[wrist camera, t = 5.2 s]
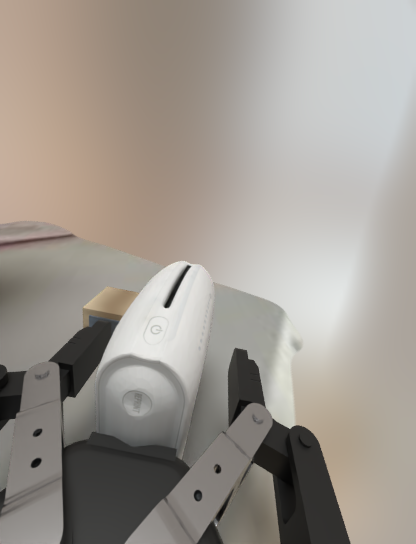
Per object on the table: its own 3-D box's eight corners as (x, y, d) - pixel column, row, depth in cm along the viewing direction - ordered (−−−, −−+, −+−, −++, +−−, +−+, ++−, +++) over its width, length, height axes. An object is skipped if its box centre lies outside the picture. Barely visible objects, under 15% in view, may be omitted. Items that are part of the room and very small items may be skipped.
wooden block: (83, 347, 21) (81, 308, 20) (107, 320, 26) (107, 286, 24) (128, 356, 21) (130, 318, 20) (144, 327, 26) (147, 294, 24)
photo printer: (166, 544, 11) (213, 359, 6) (84, 524, 11) (70, 327, 6) (196, 377, 20) (224, 254, 16) (152, 367, 21) (167, 242, 16)
